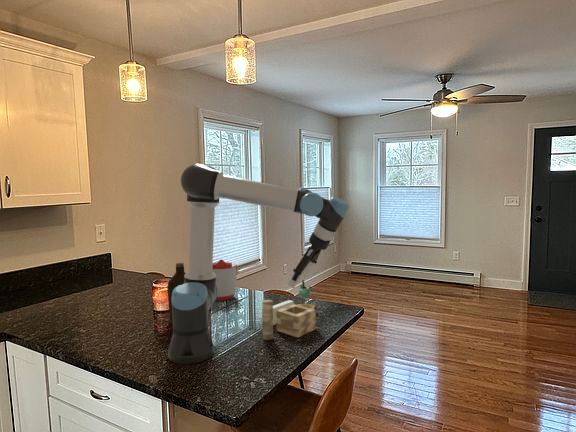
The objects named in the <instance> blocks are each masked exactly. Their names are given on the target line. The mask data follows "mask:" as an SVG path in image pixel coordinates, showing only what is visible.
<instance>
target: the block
mask: <svg viewBox="0 0 576 432" xmlns="http://www.w3.org/2000/svg"><path fill="white" fill-rule="evenodd" d="M316 311H317V309H315V308H314V309H312V308H308V307H304V306H300V305H297V303H296V304H295V303H294V304H293V305H291V306H288V307H285V308H282V309H280V310H277V311H276V321H277V324H276V331H277V332H280V333H284V334H286V335H289V336H292V337H295V338H300V337H303V336H305V335H307V334H308V333H311V332H313V331H315V330H316V329H317V327H316V323H317V321H316V319H317V318H316V317H317V316H316Z"/></svg>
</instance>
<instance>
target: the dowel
mask: <svg viewBox="0 0 576 432" xmlns="http://www.w3.org/2000/svg"><path fill="white" fill-rule="evenodd" d="M273 306H274V302H273V300H272V299H263V300H262V301H261V320H262V323H261V324H262V325H261V326H262V328H261V329H262V330H261V333H262V339H263V340H264V341H271V340H273V339H274V325H273Z"/></svg>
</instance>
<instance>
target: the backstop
mask: <svg viewBox="0 0 576 432" xmlns="http://www.w3.org/2000/svg"><path fill="white" fill-rule="evenodd" d="M294 301H295V300H290V299H288V300H285V301H282V302H280V303H277V304H273V326H274V325H277V321H276V311H277V310H280V309H282V308H285V307H288V306H291V305H293V304H295V302H294Z"/></svg>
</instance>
